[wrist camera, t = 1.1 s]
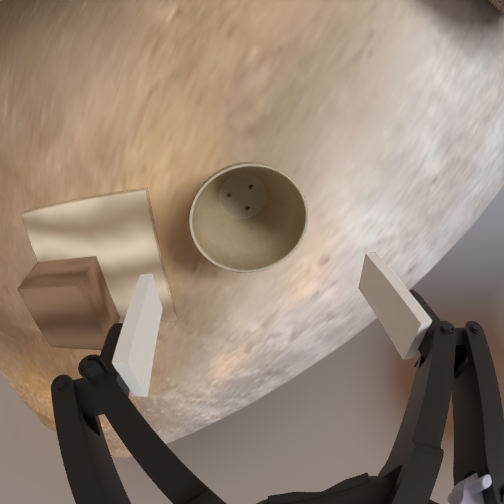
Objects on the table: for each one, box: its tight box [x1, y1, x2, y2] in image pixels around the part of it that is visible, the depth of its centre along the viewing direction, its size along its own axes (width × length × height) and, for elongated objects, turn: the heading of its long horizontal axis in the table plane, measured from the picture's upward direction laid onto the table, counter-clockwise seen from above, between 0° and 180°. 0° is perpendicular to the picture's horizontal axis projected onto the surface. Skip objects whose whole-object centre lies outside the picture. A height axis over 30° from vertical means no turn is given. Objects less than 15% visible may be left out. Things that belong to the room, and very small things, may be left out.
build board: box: [21, 187, 177, 323], centre depth 31 cm, size 18×18×1 cm
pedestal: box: [18, 256, 120, 350], centre depth 29 cm, size 10×10×6 cm
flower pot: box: [189, 162, 308, 273], centre depth 26 cm, size 10×10×7 cm
